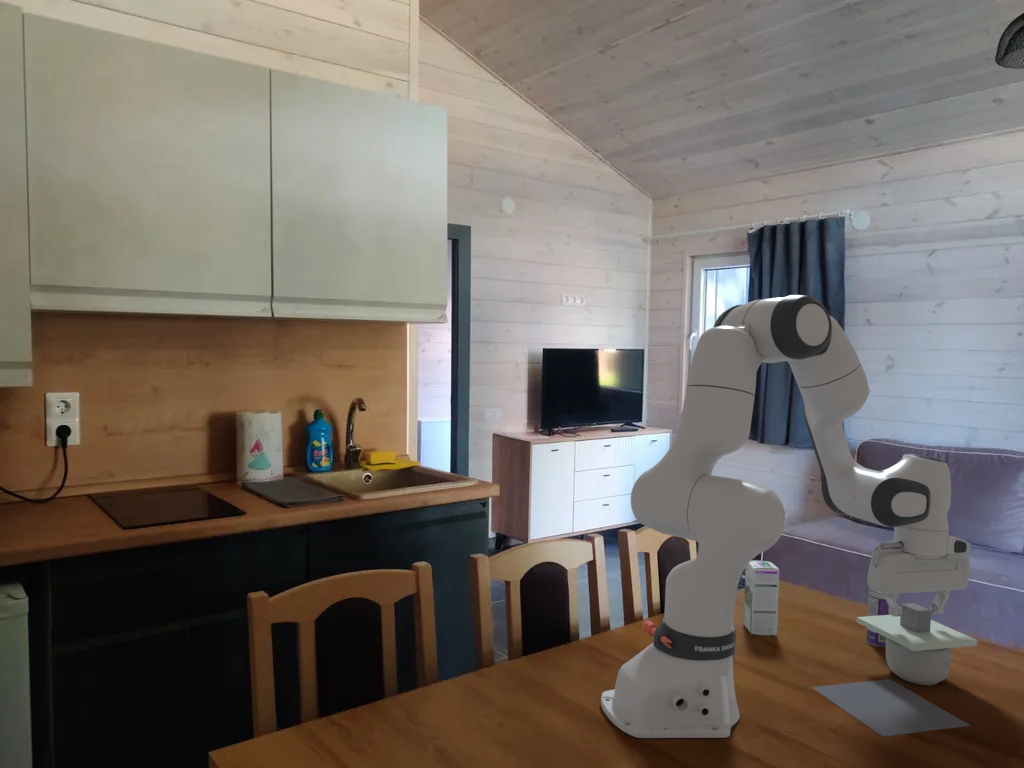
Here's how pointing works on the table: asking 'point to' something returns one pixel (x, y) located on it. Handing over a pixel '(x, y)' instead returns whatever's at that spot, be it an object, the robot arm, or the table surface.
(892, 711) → the mat
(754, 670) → the table surface
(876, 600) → the container
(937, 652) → the teacup
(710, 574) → the robot arm
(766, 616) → the syrup box
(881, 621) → the lid
